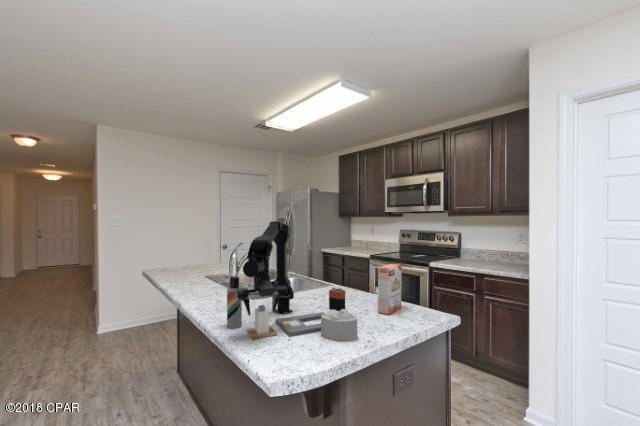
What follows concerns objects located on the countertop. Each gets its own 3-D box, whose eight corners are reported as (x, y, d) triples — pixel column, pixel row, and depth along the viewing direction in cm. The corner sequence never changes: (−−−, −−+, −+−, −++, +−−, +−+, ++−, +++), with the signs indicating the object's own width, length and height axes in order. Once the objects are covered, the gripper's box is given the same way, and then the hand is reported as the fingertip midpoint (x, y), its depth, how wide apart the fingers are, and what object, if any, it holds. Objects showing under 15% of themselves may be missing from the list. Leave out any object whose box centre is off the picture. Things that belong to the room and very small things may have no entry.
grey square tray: (275, 322, 127) (275, 317, 127) (323, 315, 137) (323, 310, 137) (289, 336, 112) (289, 330, 112) (342, 327, 121) (342, 321, 121)
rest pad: (246, 330, 119) (246, 328, 119) (269, 326, 123) (269, 325, 123) (252, 339, 110) (252, 337, 110) (277, 335, 113) (277, 333, 113)
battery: (340, 311, 142) (340, 289, 142) (328, 309, 146) (328, 288, 146) (345, 309, 146) (345, 288, 146) (333, 307, 150) (333, 286, 150)
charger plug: (254, 329, 117) (254, 304, 118) (265, 328, 119) (265, 303, 119) (258, 334, 113) (258, 308, 113) (268, 332, 115) (268, 306, 115)
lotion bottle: (228, 324, 126) (228, 275, 126) (242, 323, 127) (242, 274, 127) (225, 328, 120) (225, 277, 121) (240, 328, 121) (240, 277, 121)
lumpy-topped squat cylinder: (331, 328, 121) (331, 306, 121) (362, 334, 114) (362, 310, 114) (317, 337, 112) (317, 313, 112) (350, 344, 105) (350, 318, 105)
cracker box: (389, 315, 136) (389, 268, 136) (377, 313, 139) (377, 266, 140) (402, 308, 147) (401, 264, 147) (390, 306, 150) (390, 263, 151)
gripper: (240, 278, 105) (240, 324, 105) (292, 273, 113) (292, 316, 113) (234, 273, 115) (234, 315, 115) (282, 269, 123) (282, 308, 123)
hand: (261, 313), depth 116 cm, fingers open, 9 cm apart
